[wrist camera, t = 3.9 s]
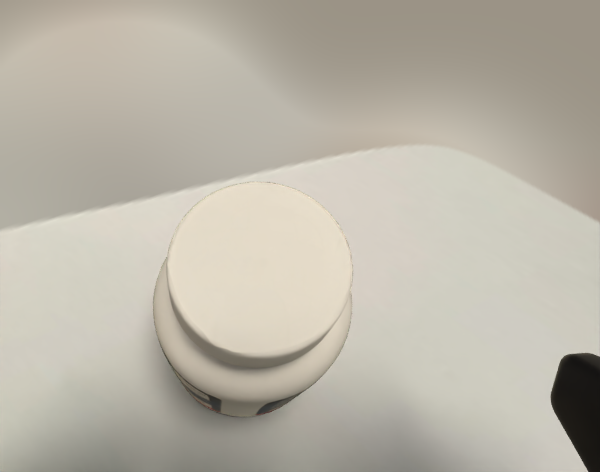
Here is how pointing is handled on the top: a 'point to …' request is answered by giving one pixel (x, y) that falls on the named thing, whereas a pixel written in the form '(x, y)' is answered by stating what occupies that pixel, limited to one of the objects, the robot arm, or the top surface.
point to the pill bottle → (253, 297)
